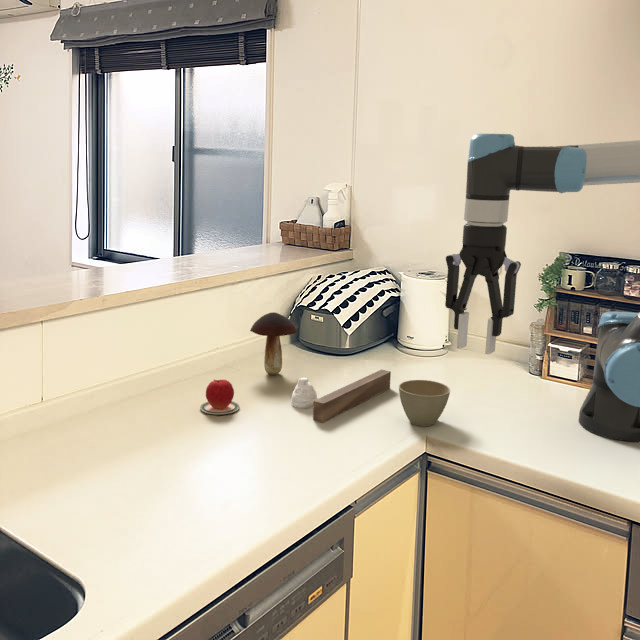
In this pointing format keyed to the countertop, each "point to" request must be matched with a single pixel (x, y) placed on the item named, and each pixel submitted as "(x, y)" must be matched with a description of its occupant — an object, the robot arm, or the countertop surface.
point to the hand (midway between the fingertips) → (475, 349)
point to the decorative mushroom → (273, 338)
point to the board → (350, 396)
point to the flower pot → (423, 400)
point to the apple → (219, 398)
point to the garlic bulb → (303, 394)
